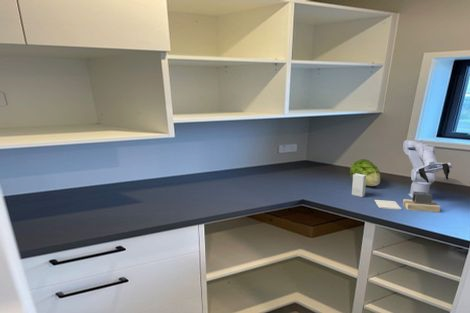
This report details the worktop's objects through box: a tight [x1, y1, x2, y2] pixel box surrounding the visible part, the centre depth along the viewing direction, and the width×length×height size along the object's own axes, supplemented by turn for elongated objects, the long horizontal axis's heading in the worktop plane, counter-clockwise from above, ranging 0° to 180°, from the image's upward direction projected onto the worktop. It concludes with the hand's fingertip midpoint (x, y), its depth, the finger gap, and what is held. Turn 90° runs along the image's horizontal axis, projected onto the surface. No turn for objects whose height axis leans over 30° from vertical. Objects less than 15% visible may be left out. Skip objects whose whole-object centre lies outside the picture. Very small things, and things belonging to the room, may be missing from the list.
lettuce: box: [349, 158, 381, 187], centre depth 179 cm, size 16×21×15 cm
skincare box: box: [351, 173, 367, 198], centre depth 160 cm, size 6×4×12 cm
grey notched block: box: [411, 191, 434, 205], centre depth 142 cm, size 4×7×5 cm, turn 78°
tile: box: [374, 199, 402, 210], centre depth 147 cm, size 10×10×1 cm
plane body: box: [402, 198, 441, 213], centre depth 143 cm, size 7×14×6 cm, turn 78°
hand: (437, 179), depth 134 cm, fingers open, 7 cm apart
